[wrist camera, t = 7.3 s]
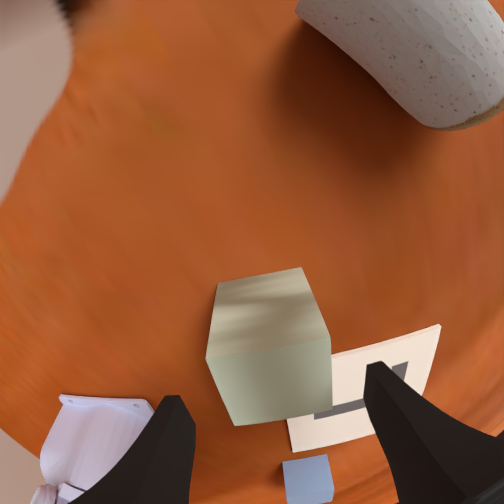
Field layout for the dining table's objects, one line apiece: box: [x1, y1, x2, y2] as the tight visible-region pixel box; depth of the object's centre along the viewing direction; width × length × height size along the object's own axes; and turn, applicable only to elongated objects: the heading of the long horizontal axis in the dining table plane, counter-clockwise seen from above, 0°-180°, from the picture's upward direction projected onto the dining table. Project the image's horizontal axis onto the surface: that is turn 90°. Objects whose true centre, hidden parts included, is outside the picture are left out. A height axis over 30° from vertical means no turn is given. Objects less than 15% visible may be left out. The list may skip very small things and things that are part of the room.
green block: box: [206, 267, 333, 426], centre depth 13 cm, size 4×4×6 cm
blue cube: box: [282, 454, 334, 504], centre depth 22 cm, size 4×4×4 cm
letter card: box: [287, 324, 441, 452], centre depth 19 cm, size 12×12×1 cm
